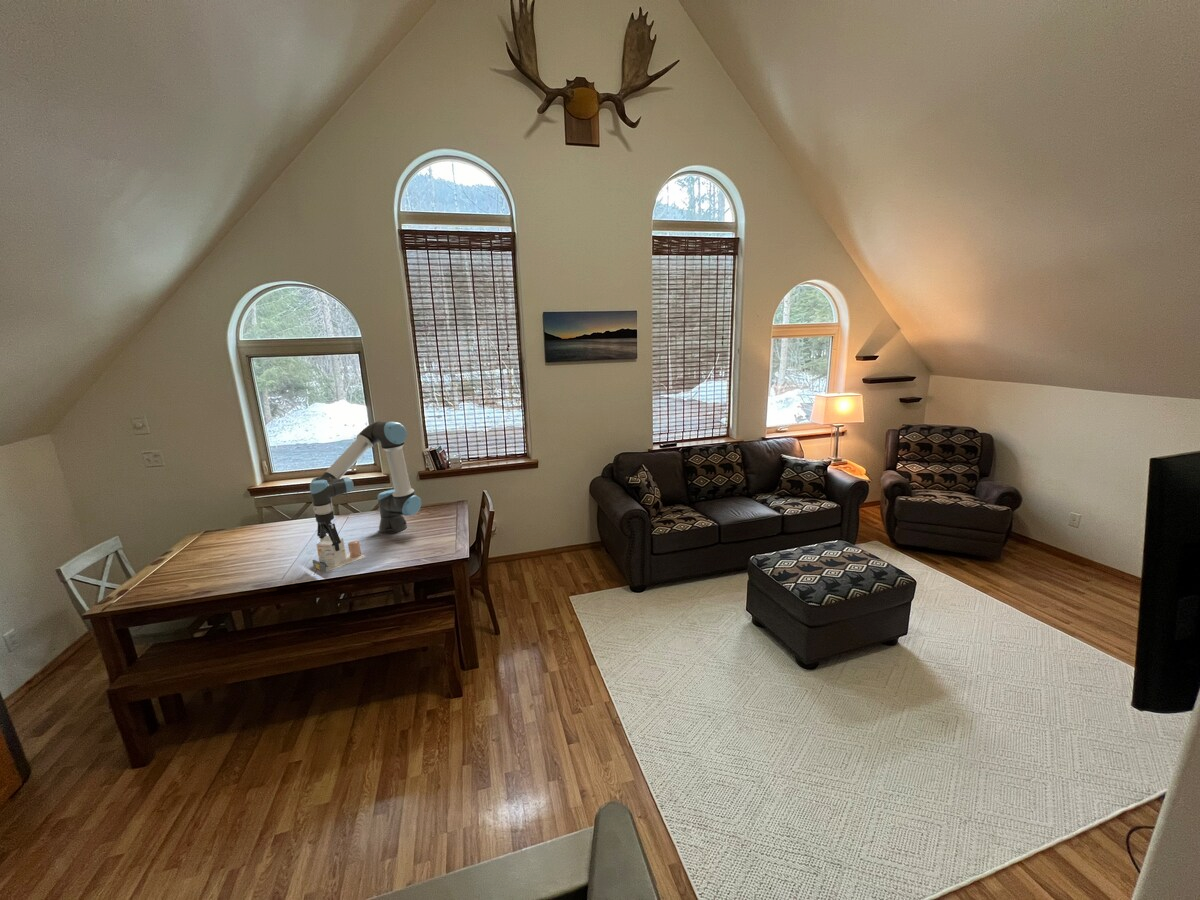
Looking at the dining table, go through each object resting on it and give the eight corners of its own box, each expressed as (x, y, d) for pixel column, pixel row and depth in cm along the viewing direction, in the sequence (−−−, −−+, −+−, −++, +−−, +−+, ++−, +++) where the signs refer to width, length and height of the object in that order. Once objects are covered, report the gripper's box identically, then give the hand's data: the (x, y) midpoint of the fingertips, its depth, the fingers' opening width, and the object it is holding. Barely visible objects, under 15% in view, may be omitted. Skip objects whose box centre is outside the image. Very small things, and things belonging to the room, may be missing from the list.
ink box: (319, 566, 229) (314, 540, 226) (331, 559, 237) (326, 534, 234) (335, 567, 227) (330, 541, 224) (347, 559, 235) (342, 534, 233)
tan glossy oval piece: (358, 552, 243) (356, 540, 241) (363, 555, 240) (360, 542, 238) (348, 556, 239) (346, 543, 238) (353, 558, 236) (350, 545, 235)
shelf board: (355, 554, 245) (354, 545, 244) (366, 559, 238) (365, 551, 237) (313, 569, 230) (311, 560, 229) (323, 575, 222) (322, 566, 222)
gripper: (304, 510, 231) (312, 550, 236) (326, 519, 216) (335, 562, 221) (321, 505, 237) (328, 545, 242) (343, 514, 222) (351, 556, 226)
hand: (331, 553), depth 231 cm, fingers open, 13 cm apart
